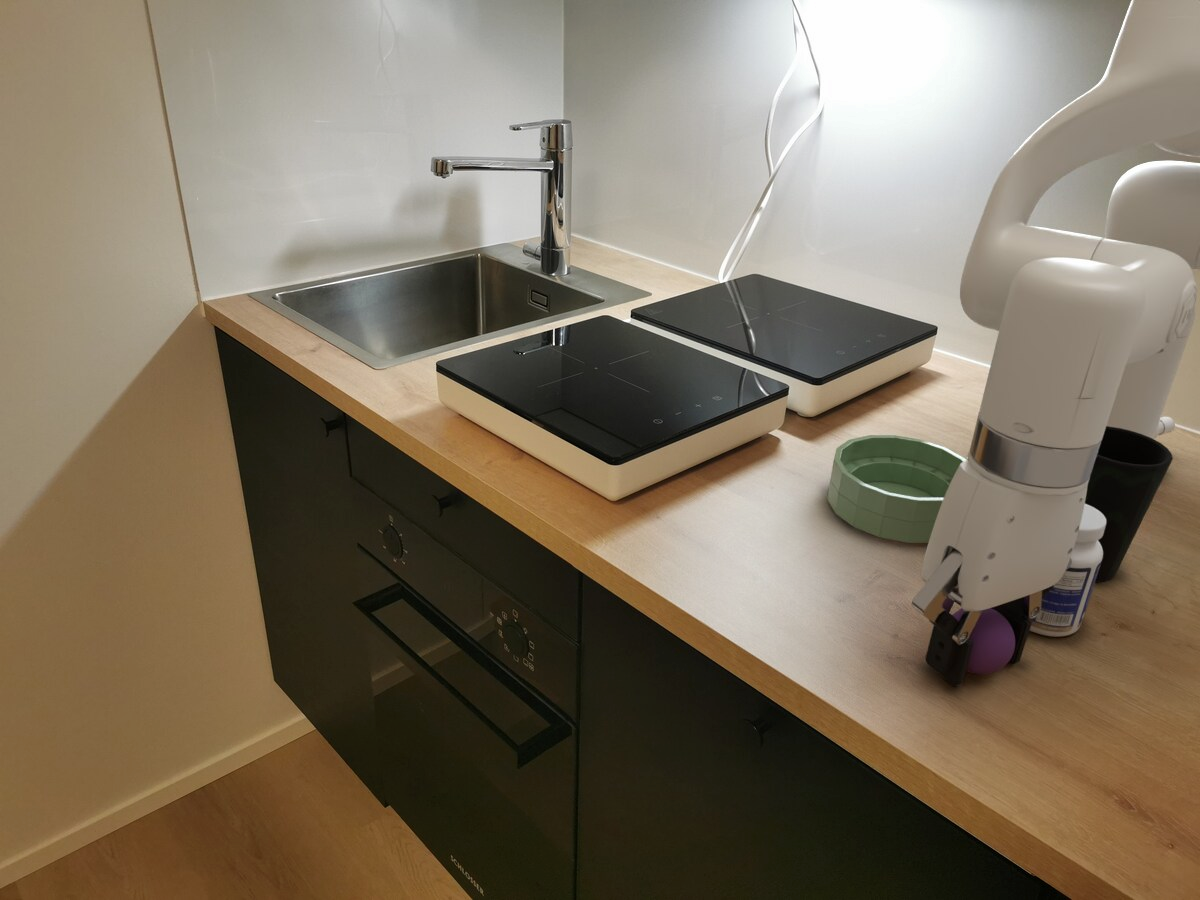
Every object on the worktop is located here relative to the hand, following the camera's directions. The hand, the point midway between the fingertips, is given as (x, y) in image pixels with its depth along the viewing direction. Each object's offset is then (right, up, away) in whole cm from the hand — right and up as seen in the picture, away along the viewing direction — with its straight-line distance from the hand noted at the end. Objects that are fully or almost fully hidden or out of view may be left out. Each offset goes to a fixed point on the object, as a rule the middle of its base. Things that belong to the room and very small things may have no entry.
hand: (972, 661), depth 68 cm
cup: (+15, +5, +13) cm, 21 cm away
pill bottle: (+8, +2, +6) cm, 10 cm away
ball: (0, +2, -1) cm, 2 cm away
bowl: (+1, +10, +21) cm, 23 cm away
